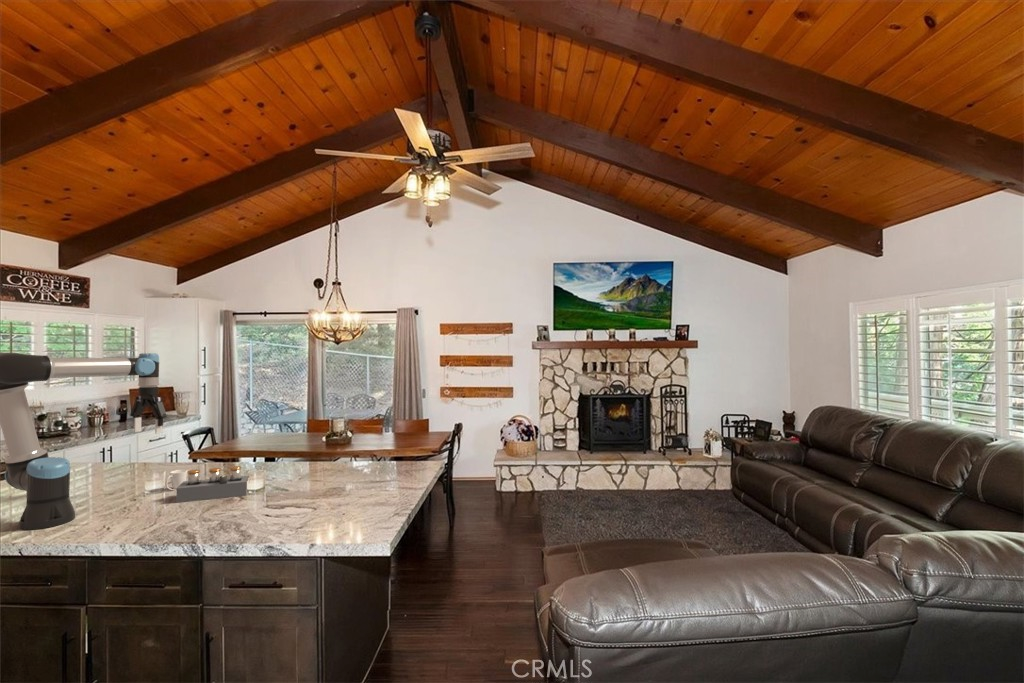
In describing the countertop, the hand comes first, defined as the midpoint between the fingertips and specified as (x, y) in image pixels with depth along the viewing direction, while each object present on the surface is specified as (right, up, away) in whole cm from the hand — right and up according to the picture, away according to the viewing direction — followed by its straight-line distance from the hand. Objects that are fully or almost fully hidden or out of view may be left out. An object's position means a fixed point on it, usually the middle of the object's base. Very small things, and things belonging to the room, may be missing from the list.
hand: (148, 432), depth 223 cm
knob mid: (+36, -21, -8) cm, 43 cm away
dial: (+41, -20, -11) cm, 47 cm away
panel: (+36, -26, -8) cm, 45 cm away
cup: (+12, -27, +1) cm, 30 cm away
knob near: (+29, -21, -11) cm, 37 cm away
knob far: (+43, -21, -5) cm, 49 cm away
